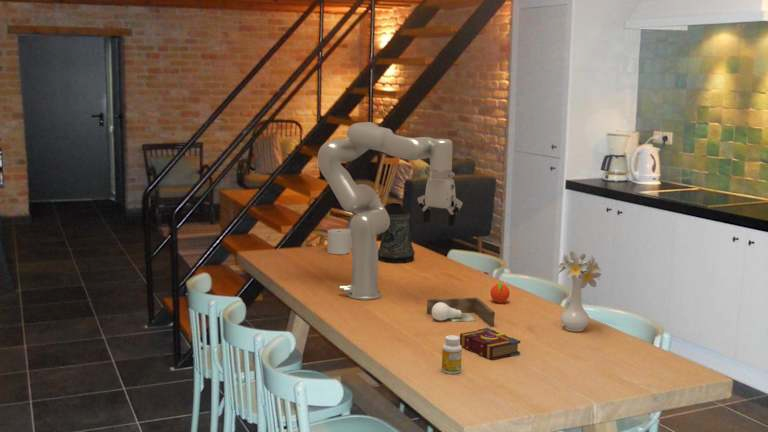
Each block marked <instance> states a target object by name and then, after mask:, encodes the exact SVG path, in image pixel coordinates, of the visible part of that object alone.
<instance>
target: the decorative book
mask: <svg viewBox="0 0 768 432" xmlns="http://www.w3.org/2000/svg"><path fill="white" fill-rule="evenodd" d="M459 337H460V342H459V344H460V345H461V347H462V348H464V350H466V351H467V352H473V353H475V354H478V355H479V357H481V358H485V359H488V360H492V361H493V360H497V359H500V358H501V359H502V358H506V357H513V356H518V355H521V352H520V351H519V348H518V344H521V340H519V339H517V338H514V337H510V336H507V335H506V334H505V333H503V332H501V333H500V332H497V331H496V330H494V329H492V328H491V327H490V328H489V327H484V328H480V329H477V330H473V331H467V332H463V333H462V332H461V333H460V334H459Z"/></svg>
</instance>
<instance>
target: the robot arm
mask: <svg viewBox="0 0 768 432" xmlns="http://www.w3.org/2000/svg"><path fill="white" fill-rule="evenodd" d="M369 150H373V151H377V152H382V153H384V154H387V155H389V156H392V157H395V158H400V159H403V160H407V161H408V160H410V161H417V160H426V159H429V177H428V178H427V182H426V186H425V194H423V195H421V196H419V197H417V202H418V205H419V208H421V211H422V212H423V223H424V224H427V223H430V222H431V210H430V209H431V208H436V209H444V210H445V209H446V210H447V211H448V212H449V214H448V220H447V222H448V224H447V225H448V226H449V227H452V226H454V225H455V223H456V215H457V214H458V212H460V210H461V208H462V206H463V201H461V200H460V199H458V198H457V197H456V195H457V194H456V185H455V180H454V179H453V177H455V176H456V174H455V172H453V141H452V140H451V139H448V138H434V137H429V136H422V137H421V136H420V137H408V136H403V135H398V134H394V132H393V130H392V129H391V128H388V127H387V128H386V127H383V126H379V125H377V124H376V123H375V122H371V121H365V122H361V121H360V122H356V123H352V124H351V125H350V126H349V127H348V129H347V131H346V138H340V139H332V140H328V141H327V142H324V143H323V144H322V145H321V146H320V148H319V150H318V153H317V164H318V168H319V170H320V172H321V174H322V176H323V177H324V179H325V180H326V182H327V183H328V185H329V187H330V188H331V190H332V192H333V194H334V196H335V197H336V199H337V201H338V203H339V204H340V206H341V208H342V209H343V210H344V211H346V212H349V213H353V212H358V211H360V212H358V213H357V214H355V215H354V216H353V217H352V218H351V220H350V222H349V223H350V225H349V226H350V227H349V229H350V230H351V236H352V249H351V250H352V251H351V255H352V256H351V261H352V262H351V282H349V284H347V285H339V286H338V291H339V292H342V291H343V292H344V293H345V292H347V297H349V298H350V299H353V300H354V299H356V300H364V301H367V300H368V301H371V300H377V299H379V298H381V297H382V295H383V294H382V292H381V290H378V280H379V279H378V278H379V277H378V276H379V274H378V273H379V258H378V250H379V246H378V241H377V238H376V237H377V234H381V233H383V232H385V231H386V230H387V229H388V228H389V225H390V218H389V215H388V213H387V211H386V209H385V208H384V205H383V203H382V201H381V199H380V198H379V196H378V194H377V192H376V190H374V189H373V188H372V187H371V186H370V185H368V184H363V183H360V184H357V183H356V182H355V180H354V179H353V178H352V176H351V174H350V173H349V171H348V170H347V169H346V168H345V167H344V166H343V165H342V164H341V163H346V162H351V161H355V160H356V159H358V158H359V157H361V156H362V155H363V154H364V153H366V152H368V151H369Z"/></svg>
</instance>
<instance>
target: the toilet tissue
mask: <svg viewBox="0 0 768 432" xmlns="http://www.w3.org/2000/svg"><path fill="white" fill-rule="evenodd" d="M326 232H327V234H326V235H327V239H326V241H327V245H326V246H327V247H326V248H327V250H326V251H327V252H326V253H328V254H333V255H346V254H347V253H348V254H351V250H352V236H351V230H350V228H332V229H327V231H326Z"/></svg>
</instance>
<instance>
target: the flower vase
mask: <svg viewBox="0 0 768 432" xmlns="http://www.w3.org/2000/svg"><path fill="white" fill-rule="evenodd" d="M569 255H570V258H569V257H568V255H566V254H564V255H563V256H562V257H563V258H562V262H561V263H559V264H558V266H557V269H559V270H558V271H557V273H556V275H559V274H560V273H561V272H563V271H565V270H566V269H567V270H569V271H567V272H566V274H565V277H566V279H570V278H571V284H572V287H571V288H572V289H571V297H570V302H569V305H568V307H567V308H566V309H565V310H563V312H562V313H561V315H560V322H561V324H562V325H563V326H564V329H565V330H566V331H569V332H574V333H576V332H583V331H585V328H586V327H587V326H588V325H589V324H590V320H591V319H590V316H589V315H588V313H587V312H586V310H585V309H584V307H583V303H582V290H583V289H585V288H586V287H587V285H588V284H589V286H590V287H593V288H596V287H597V281H596V280H595V279H597V280H598V281H600V280H601V278H600V277H601V275H602V273H601V270H602V269H601V267H599V263H598V262H597V261H596V260H595V257H594V256H593V255H592V254H591V255H590V259H588V260H587V261H584V260H585V258H586V256H587V255H586V254H585V253H581V254H579V255H578V256H577V254H576V253H575V252H574V251H573V250H570V251H569Z"/></svg>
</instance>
